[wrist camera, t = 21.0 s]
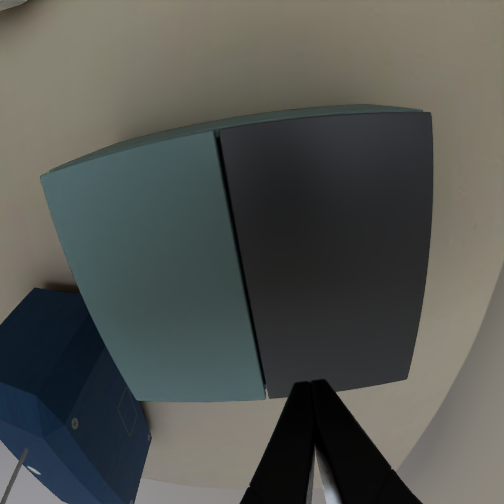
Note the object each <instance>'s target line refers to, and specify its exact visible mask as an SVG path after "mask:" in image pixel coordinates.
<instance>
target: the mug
mask: <svg viewBox="0 0 504 504" xmlns="http://www.w3.org/2000/svg"><path fill="white" fill-rule="evenodd" d="M26 1H28V0H0V11H2V10H5V9H8V8H12V7H15V6H19V5H21V4H23V3H25V2H26Z"/></svg>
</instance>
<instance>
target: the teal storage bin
mask: <svg viewBox="0 0 504 504" xmlns="http://www.w3.org/2000/svg"><path fill="white" fill-rule="evenodd" d="M371 112H423V110H420V109H412V108H403V107H394V106H383V105H371V104H357V105H339V106H325V107H313V108H302V109H292V110H283V111H275V112H267V113H260V114H253V115H246V116H240V117H233V118H227V119H222V120H216V121H210V122H205V123H200V124H195V125H190V126H185V127H180V128H176V129H171V130H167V131H163V132H158V133H154V134H150V135H146V136H142V137H138V138H134V139H130V140H127V141H123V142H119V143H117V144H114V145H111V146H108V147H106V148H103V149H100V150H98V151H95V152H92V153H90V154H87V155H85V156H82V157H80V158H77V159H75V160H72V161H70V162H68V163H65V164H63V165H61V166H58V167H56V168H54V169H51V170H50V171H49V173H46V174H43V175H41V176H40V179H41V183H42V186H43V190H44V193H45V197H46V200H47V203H48V207H49V210H50V213H51V216H52V219H53V222H54V225H55V228H56V231H57V234H58V237H59V240H60V242H61V245H62V248H63V250H64V253H65V256H66V258H67V261H68V264H69V266H70V269H71V271H72V274H73V276H74V278H75V281H76V283H77V286H78V288H79V290H80V293H81V295H82V297H83V299H84V302H85V304H86V306H87V308H88V310H89V313H90V315H91V317H92V319H93V321H94V323H95V325H96V327H97V329H98V331H99V333H100V335H101V337H102V339H103V341H104V343H105V345H106V347H107V349H108V351H109V353H110V355H111V357H112V358H113V360H114V362H115V364H116V366H117V368H118V369H119V371H120V373H121V375H122V376H123V378H124V380H125V382H126V383H127V385H128V387H129V389H130V390H131V392H132V394H133V395H134V397H135V399H136V400H137V401H158V402H230V401H251V400H265V399H266V392H265V389H267V386H266V381H265V376H264V371H263V366H262V361H261V356H260V351H259V346H258V340H257V335H256V330H255V325H254V320H253V315H252V309H251V304H250V299H249V294H248V289H247V283H246V278H245V273H244V268H243V262H242V257H241V252H240V246H239V241H238V236H237V230H236V225H235V220H234V214H233V209H232V203H231V198H230V192H229V187H228V181H227V176H226V170H225V165H224V159H223V154H222V148H221V143H220V137H219V131H218V130H219V129H221V128H226V127H232V126H238V125H245V124H252V123H259V122H266V121H274V120H282V119H291V118H300V117H310V116H322V115H334V114H350V113H371Z"/></svg>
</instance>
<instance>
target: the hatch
mask: <svg viewBox="0 0 504 504" xmlns="http://www.w3.org/2000/svg"><path fill="white" fill-rule="evenodd" d="M218 131H219V137H220V143H221V148H222V154H223V159H224V165H225V170H226V176H227V181H228V187H229V192H230V198H231V203H232V209H233V214H234V220H235V225H236V230H237V236H238V241H239V246H240V252H241V257H242V262H243V268H244V273H245V278H246V283H247V289H248V294H249V299H250V304H251V309H252V315H253V320H254V325H255V330H256V335H257V340H258V346H259V351H260V356H261V361H262V366H263V371H264V376H265V381H266V386H267V391H268V396H269V399H273V398H285V397H288V396H289V394H290V391H291V389H292V386H293V384H294V383H295V382H300V381H309V382H310V381H312V380H317V379H325V380H327V382H328V383H329V384H330V386H331V387H332V388H333V390H334V391H335V392H338V391H345V390H351V389H358V388H364V387H369V386H375V385H380V384H386V383H391V382H396V381H401V380H405V379H407V377H408V373H409V369H410V365H411V361H412V356H413V352H414V347H415V342H416V337H417V332H418V327H419V322H420V316H421V310H422V304H423V298H424V291H425V284H426V276H427V268H428V259H429V249H430V238H431V224H432V205H433V135H432V116H431V113H430V112H371V113H350V114H334V115H322V116H310V117H300V118H291V119H282V120H274V121H266V122H259V123H252V124H245V125H238V126H232V127H226V128H221V129H219V130H218Z"/></svg>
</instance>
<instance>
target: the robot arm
mask: <svg viewBox="0 0 504 504" xmlns="http://www.w3.org/2000/svg"><path fill="white" fill-rule="evenodd" d="M315 451H316V457H317V462H318V466H319V471H320V475H321V480H322V484H323V489H324V493H325V498H326V502H327V504H423V503H421V501H420V500H419V499H418V498H417V497H416V496H415V495H414V494H412V492H411V491H410V490H409V488H408V487H407V486H406V485H405V484H404V482H403V481H402V480H401V479H400V477H399V476H398V475H397V473H396V472H395V471H394V470H393V469H391V466H390V465H389V463H388V462H387V461H386V459H385V458H384V457H383V455H382V454H381V453H380V451H379V450H378V449H377V447H376V446H375V445H374V443H373V442H372V441H371V439H370V438H369V437H368V435H367V434H366V433H365V431H364V430H363V429H362V427H361V426H360V425H359V423H358V422H357V421H356V419H355V418H354V417H353V415H352V414H351V413H350V411H349V410H348V409H347V407H346V406H345V405H344V403H343V402H342V401H341V399H340V398H339V396H338V395H337V394H336V392H335V391H334V390H333V388H332V387H331V386H330V384H329V383H328V382H327V380H325V379H317V380H312V381H310V382H309V381H300V382H295V383H294V384H293V386H292V389H291V391H290V394H289V396H288V399H287V401H286V403H285V406H284V408H283V411H282V413H281V415H280V418H279V420H278V423H277V425H276V427H275V430H274V432H273V434H272V436H271V439H270V441H269V443H268V446H267V448H266V450H265V452H264V454H263V457H262V459H261V461H260V463H259V465H258V467H257V470H256V472H255V474H254V476H253V478H252V480H251V482H250V484H249V486H250V487H248V488H247V490H246V492H245V494H244V496H243V498H242V500H241V502H240V504H311V501H312V490H313V477H314V463H315Z"/></svg>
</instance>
